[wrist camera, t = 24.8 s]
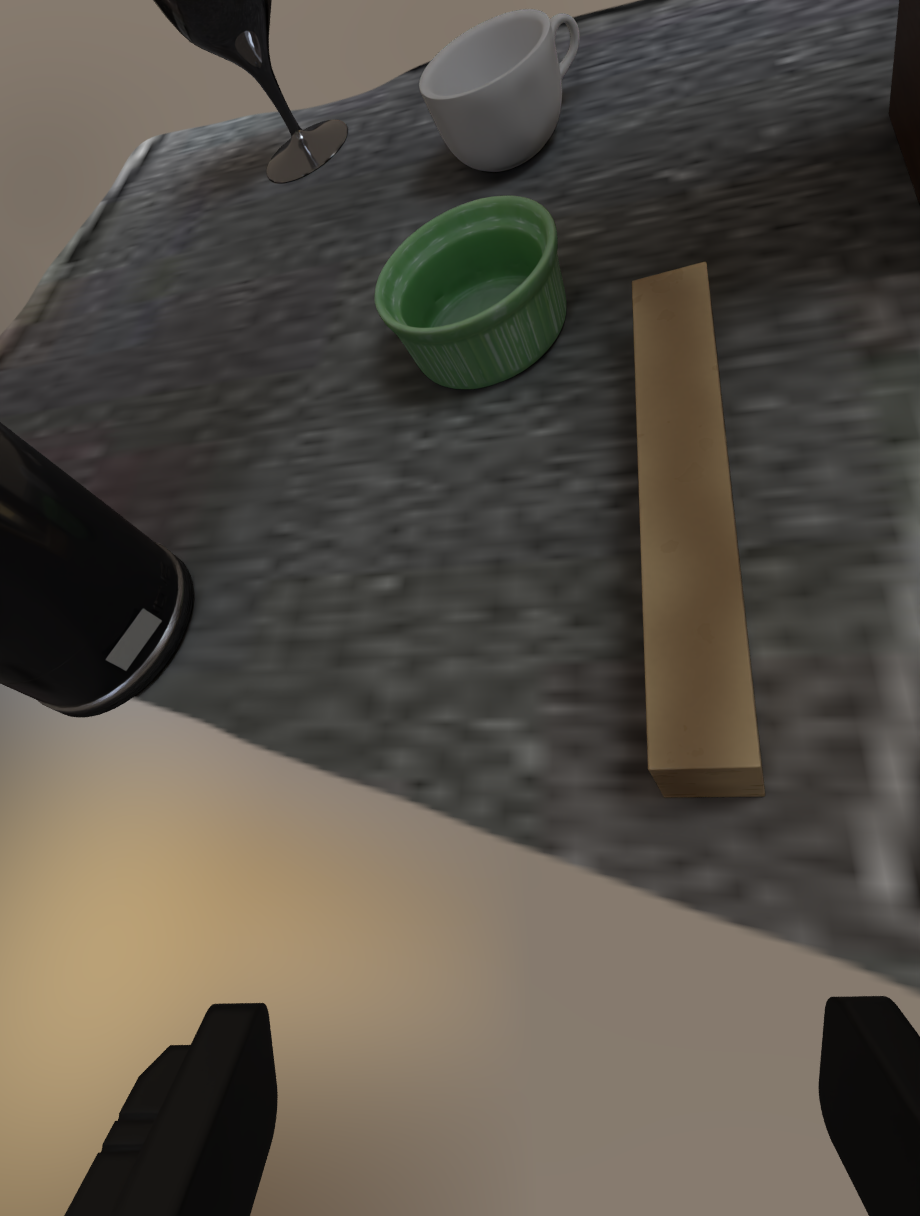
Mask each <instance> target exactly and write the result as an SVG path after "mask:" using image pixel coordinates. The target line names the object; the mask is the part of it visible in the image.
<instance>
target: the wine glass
mask: <svg viewBox="0 0 920 1216" xmlns="http://www.w3.org/2000/svg"><path fill="white" fill-rule="evenodd" d="M153 1H154V2H155V4H156V5H157V6H158V7H159V8H160V10H161V11H162V13H163V14H164V15H165V16H166V17H167V18H168V20H169V21H170V22H171V23H172V24H173V25H174V26H175V27H176V29H177V30H178V31H179V32H180V33H181V34H182V35H183V36H184V37H185V38H187V39H188V40H189V41H190V42H191V43H193V44H194V45H196V46H198V47H200V48H201V49H204V50H206V51H208V52H210V53H213V54H215V55H218V56H219V57H222V58H224V59H226V60H228V61H231V62H233V63H235V64H236V65H238V66H239V67H241V68H243V69H244V70H246V71H247V72H248V73H249V74H251V75H252V76H253V77H254V78H255V79H256V81H257V82H258V83H259V84H260V85H261V87H262V88H263V90H264V91H265V92H266V94H267V95H268V97H269V98H270V99H271V101H272V102H273V104H274V105H275V107H276V108H277V110H278V112H279V113H280V115H281V117H282V118H283V120H284V122H285V124H286V126H287V127H288V129H289V132H290V134H291V139H289V140H288V141H287V142H286V143H285V144H283V145H282V146H281V147H280V148H279V149H278V151H277V152H276V153H275V154H274V156H273V157H272V158H271V160H270V162H269V164H268V167H267V176H268V178H269V179H270V180H271V181H273V182H278V183H279V182H288V181H292V180H295V179H298V178H300V177H303V176H305V175H307V174H309V173H310V172H312V171H314V170H315V169H317V168H318V167H320V166H321V165H323V164H324V163H325V162H326V161H328V160H329V159H330V158H331V157H332V156H333V155H334V154H335V153H336V152H337V151H338V150H339V148H340V147H341V146H342V144H343V143H344V141H345V139H346V137H347V133H348V127H347V125H346V124H345V123H344V122H343V121H340V120H327V121H323V122H320V123H317V124H314V125H312V126H310V127H308V128H306V129H304V130H302V129H301V128H300V126H299V125H298V123H297V122H296V120H295V118H294V117H293V115H292V113H291V111H290V109H289V107H288V105H287V103H286V101H285V99H284V97H283V95H282V93H281V90H280V88H279V85H278V83H277V80H276V78H275V75H274V73H273V70H272V67H271V62H270V55H269V25H270V13H271V0H153Z"/></svg>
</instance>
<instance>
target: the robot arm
mask: <svg viewBox="0 0 920 1216" xmlns="http://www.w3.org/2000/svg"><path fill="white" fill-rule="evenodd" d="M192 604H193V584H192V579H191V575H190V573H189V571H188V569H187V567H186V565H185V564H184V563H183V562H182V561H181V560H180V559H179V558H178V557H177V556H175V555H174V554H173V553H172V552H170V551H169V550H168V549H166V548H165V547H164V546H162V545H160V544H158V543H155V542H154V541H152V540H151V539H150V538H149V537H147V536H146V535H145V534H143V533H142V532H141V531H140V530H138V529H137V528H136V527H134V526H133V525H132V524H131V523H129V522H128V521H127V520H126V519H124V518H123V517H122V516H121V515H120V514H118V513H117V512H116V511H114V510H113V509H112V508H111V507H109V506H108V505H107V504H105V503H104V502H103V501H102V500H100V499H99V498H98V497H96V496H95V495H94V494H93V493H91V492H90V491H89V490H87V489H86V488H85V487H83V486H82V485H81V484H80V483H78V482H77V481H76V480H74V479H73V478H72V477H71V476H69V475H68V474H67V473H65V472H64V471H63V470H61V469H60V468H59V467H58V466H56V465H55V464H54V463H52V462H51V461H50V460H49V459H47V458H46V457H45V456H43V455H42V454H41V453H39V452H38V451H37V450H36V449H34V448H33V447H32V446H30V445H29V444H28V443H27V442H25V441H24V440H23V439H21V438H20V437H19V436H17V435H16V434H15V433H14V432H12V431H11V430H10V429H8V428H7V427H6V426H5V425H3V424H2V423H1V422H0V684H3V685H5V686H7V687H10V688H12V689H14V690H16V691H18V692H21V693H23V694H25V695H27V696H30V697H32V698H34V699H36V700H38V701H39V702H40V703H42V704H43V705H45V706H47V707H49V708H51V709H53V710H56V711H58V712H60V713H62V714H65V715H68V716H71V717H90V716H95V715H100V714H102V713H105V712H108V711H110V710H112V709H115V708H116V707H118V706H120V705H122V704H124V703H125V702H127V701H128V700H130V699H131V698H133V697H134V696H135V695H136V694H138V693H139V692H140V691H141V690H143V689H144V688H145V687H146V686H147V685H148V684H149V683H150V682H151V681H152V680H153V679H154V678H155V677H156V676H157V675H158V673H159V672H160V671H161V670H162V669H163V667H164V666H165V665H166V664H167V662H168V661H169V659H170V658H171V656H172V655H173V653H174V652H175V650H176V648H177V647H178V645H179V643H180V641H181V639H182V637H183V635H184V632H185V630H186V627H187V625H188V622H189V618H190V614H191V610H192ZM819 1099H820V1105H821V1110H822V1115H823V1118H824V1122H825V1125H826V1128H827V1131H828V1134H829V1136H830V1139H831V1141H832V1143H833V1145H834V1147H835V1149H836V1151H837V1153H838V1155H839V1157H840V1159H841V1161H842V1163H843V1165H844V1167H845V1169H846V1171H847V1173H848V1175H849V1177H850V1179H851V1181H852V1182H853V1185H854V1187H855V1189H856V1190H857V1192H858V1195H859V1197H860V1198H861V1200H862V1203H863V1205H864V1207H865V1209H866V1211H867V1212H868V1215H869V1216H920V1036H919V1035H918V1033H917V1032H916V1031H915V1029H914V1028H913V1027H912V1025H911V1024H910V1023H909V1021H908V1020H907V1019H906V1017H905V1016H904V1015H903V1013H902V1012H901V1010H900V1009H899V1008H898V1006H897V1005H896V1004H895V1003H894V1002H893V1001H892V1000H891V999H890V998H888V997H885V996H859V997H830V998H829V999H828V1001H827V1003H826V1006H825V1014H824V1026H823V1038H822V1050H821V1062H820V1075H819ZM276 1114H277V1083H276V1073H275V1065H274V1056H273V1047H272V1038H271V1031H270V1021H269V1014H268V1009H267V1006H266V1005H265V1004H264V1003H236V1004H213V1005H212V1006H210V1008H209V1009H208V1011H207V1012H206V1014H205V1017H204V1019H203V1021H202V1023H201V1025H200V1027H199V1029H198V1031H197V1033H196V1035H195V1037H194V1039H193V1041H192V1044H191V1045H170V1046H169V1047H168V1048H167V1049H166V1050H165V1051H164V1052H163V1053H162V1054H161V1055H160V1056H159V1057H158V1058H157V1059H156V1060H155V1061H154V1062H153V1063H152V1064H151V1065H150V1066H149V1067H148V1068H147V1069H146V1070H145V1071H144V1072H143V1073H142V1074H141V1075H140V1076H139V1077H138V1079H137V1081H136V1083H135V1085H134V1087H133V1089H132V1090H131V1092H130V1094H129V1096H128V1098H127V1100H126V1102H125V1104H124V1105H123V1107H122V1109H121V1111H120V1113H119V1119H118V1121H115V1122H114V1124H113V1126H112V1128H111V1130H110V1132H109V1133H108V1135H107V1137H106V1139H105V1141H104V1143H103V1146H102V1151H101V1153H98V1154H97V1156H96V1158H95V1160H94V1161H93V1163H92V1165H91V1167H90V1169H89V1171H88V1173H87V1174H86V1176H85V1178H84V1180H83V1182H82V1184H81V1186H80V1188H79V1189H78V1191H77V1193H76V1195H75V1197H74V1199H73V1201H72V1203H71V1204H70V1206H69V1208H68V1210H67V1212H66V1214H65V1215H64V1216H250V1213H251V1210H252V1207H253V1203H254V1200H255V1196H256V1193H257V1190H258V1187H259V1183H260V1180H261V1176H262V1173H263V1170H264V1166H265V1163H266V1160H267V1156H268V1153H269V1149H270V1146H271V1142H272V1139H273V1134H274V1129H275V1122H276Z"/></svg>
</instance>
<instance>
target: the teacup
mask: <svg viewBox="0 0 920 1216" xmlns="http://www.w3.org/2000/svg"><path fill="white" fill-rule="evenodd" d="M564 22H565V23H566V24H567V26H568V28H569V32H570V46H569V49H568V52H567V54H566V56H565V57H564V59H563V60H562V61H561V63H560V64H559V62H558V57H557V51H556V46H555V35H556V31H557V29H558V27H559V25H560V24H561V23H564ZM579 38H580V36H579V29H578V26H577V23H576V21H575V20H574V19H573V17H571V16H570V15H568V14H563V13H561V14H557V15H555V16H553V17H552V18H551V19H549V17H548V16H547V15H546V14H545V13H544V12H542V11H540V10H535V9H523V10H516V11H512V12H508V13H505V14H502V15H499V16H496V17H494V18H491V19H489V20H487V21H485V22H483V23H480V24H478V25H477V26H475V27H473V28H471V29H469V30H468V31H466V32H465V33H463V34H462V35H460V36H459V37H457V38H456V39H454V40H453V41H452V42H450V43H449V44H448V45H447V46H446V47H444V48H443V49H442V50H441V51H440V52H439V53H438V54H437V55H436V56H435V57H434V58H433V59H432V60H431V62H430V63H429V64H428V65H427V67H426V68H425V70H424V72H423V74H422V76H421V79H420V83H419V87H420V91H421V94H422V96H423V98H424V101H425V103H426V105H427V107H428V110H429V112H430V114H431V116H432V118H433V120H434V122H435V124H436V127H437V129H438V131H439V133H440V135H441V136H442V138H443V140H444V142H445V144H446V145H447V147H448V148H449V150H450V151H451V152H452V153H453V154H454V155H455V156H456V157H457V158H458V159H459V160H460V161H461V162H463V163H464V164H466V165H467V166H469V167H471V168H473V169H476V170H480V171H489V172H500V171H505V170H509V169H512V168H514V167H517V166H519V165H521V164H523V163H524V162H526V161H528V160H529V159H531V158H532V157H533V156H535V155H536V154H537V153H538V152H539V151H540V150H541V149H542V148H543V146H544V145H545V143H546V142H547V141H548V140H549V138H550V137H551V135H552V133H553V132H554V130H555V127H556V125H557V122H558V119H559V116H560V111H561V104H562V83H561V80H562V78H563V77H564V75H565V74H566V72H567V70H568V69H569V67H570V65H571V63H572V61H573V59H574V57H575V55H576V52H577V50H578V46H579Z"/></svg>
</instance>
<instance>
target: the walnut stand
mask: <svg viewBox="0 0 920 1216" xmlns="http://www.w3.org/2000/svg"><path fill="white" fill-rule="evenodd" d="M889 116H890V119H891V122H892V125H893V128H894V131H895V134H896V137H897V140H898V143H899V146H900V149H901V152H902V154H903V157H904V160H905V163H906V166H907V169H908V172H909V175H910V178H911V181H912V184H913V187H914V190H915V193H916V196H917V198H918V201H919V204H920V0H899V10H898V20H897V31H896V42H895V52H894V63H893V74H892V84H891V95H890V106H889Z"/></svg>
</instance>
